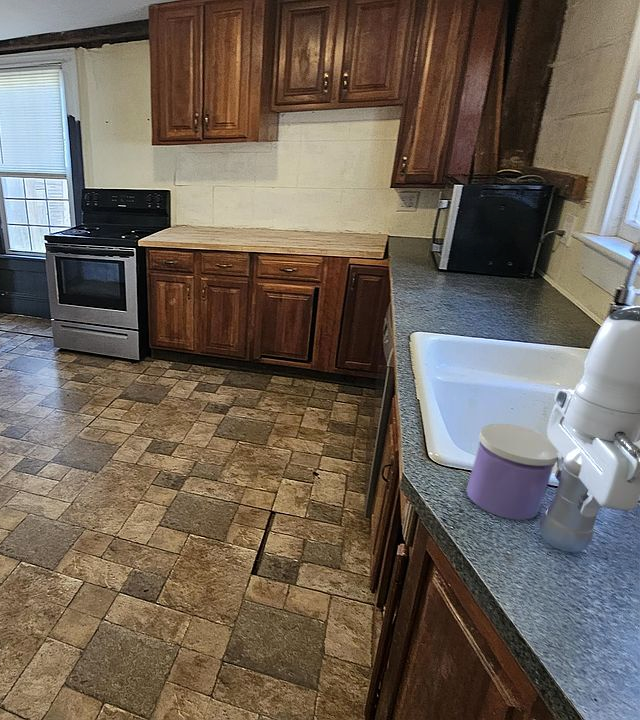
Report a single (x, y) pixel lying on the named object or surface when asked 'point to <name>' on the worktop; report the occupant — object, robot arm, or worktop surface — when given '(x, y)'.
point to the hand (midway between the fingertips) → (573, 496)
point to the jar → (511, 471)
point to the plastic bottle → (568, 510)
